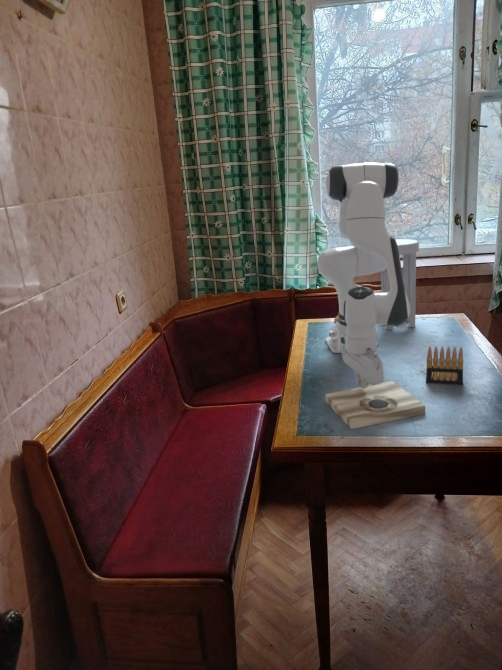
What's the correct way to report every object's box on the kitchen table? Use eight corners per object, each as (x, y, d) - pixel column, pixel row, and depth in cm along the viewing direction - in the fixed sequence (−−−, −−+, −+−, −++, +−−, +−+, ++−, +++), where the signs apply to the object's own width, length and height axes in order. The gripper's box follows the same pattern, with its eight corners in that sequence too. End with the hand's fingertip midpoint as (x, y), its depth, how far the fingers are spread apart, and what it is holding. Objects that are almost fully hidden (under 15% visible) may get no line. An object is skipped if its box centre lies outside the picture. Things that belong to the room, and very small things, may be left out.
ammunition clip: (462, 382, 152) (464, 346, 149) (463, 384, 151) (464, 348, 147) (425, 380, 156) (426, 345, 152) (425, 383, 154) (426, 347, 150)
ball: (374, 417, 137) (368, 408, 141) (388, 414, 138) (381, 406, 142) (376, 406, 135) (369, 397, 139) (389, 403, 136) (382, 395, 139)
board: (325, 401, 149) (325, 394, 148) (392, 388, 153) (392, 380, 152) (351, 429, 132) (350, 421, 131) (425, 413, 136) (425, 405, 135)
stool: (375, 320, 218) (374, 240, 207) (411, 317, 217) (412, 237, 206) (383, 331, 204) (382, 246, 193) (421, 328, 203) (423, 242, 192)
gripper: (389, 353, 135) (389, 399, 139) (356, 331, 154) (357, 372, 158) (368, 357, 133) (368, 403, 138) (337, 335, 152) (338, 375, 157)
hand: (362, 386), depth 148 cm, fingers closed
